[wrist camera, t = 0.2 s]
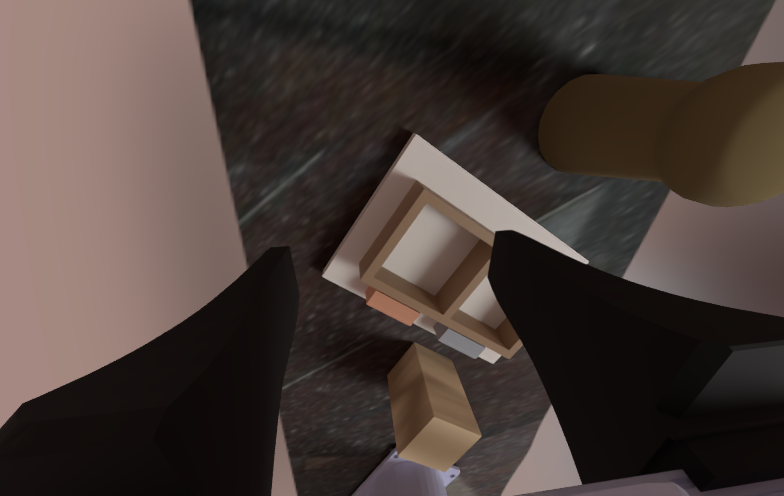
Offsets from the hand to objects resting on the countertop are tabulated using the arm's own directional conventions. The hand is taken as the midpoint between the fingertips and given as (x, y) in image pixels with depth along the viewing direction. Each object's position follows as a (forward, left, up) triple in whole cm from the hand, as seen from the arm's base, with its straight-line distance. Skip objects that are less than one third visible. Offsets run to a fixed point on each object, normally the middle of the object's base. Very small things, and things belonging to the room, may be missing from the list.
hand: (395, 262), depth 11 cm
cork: (+11, -9, -11) cm, 18 cm away
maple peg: (-11, -11, -11) cm, 19 cm away
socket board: (-1, -8, -11) cm, 13 cm away
